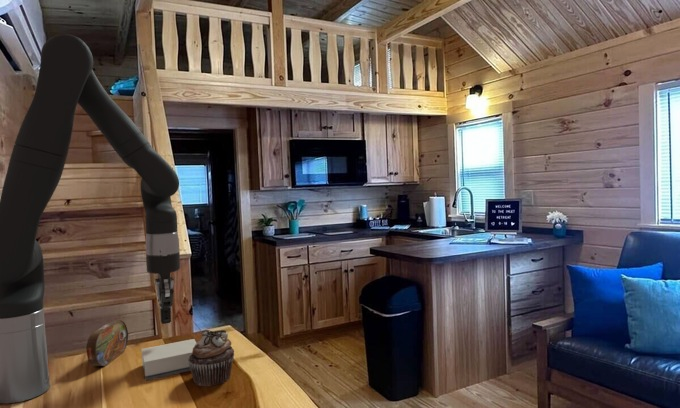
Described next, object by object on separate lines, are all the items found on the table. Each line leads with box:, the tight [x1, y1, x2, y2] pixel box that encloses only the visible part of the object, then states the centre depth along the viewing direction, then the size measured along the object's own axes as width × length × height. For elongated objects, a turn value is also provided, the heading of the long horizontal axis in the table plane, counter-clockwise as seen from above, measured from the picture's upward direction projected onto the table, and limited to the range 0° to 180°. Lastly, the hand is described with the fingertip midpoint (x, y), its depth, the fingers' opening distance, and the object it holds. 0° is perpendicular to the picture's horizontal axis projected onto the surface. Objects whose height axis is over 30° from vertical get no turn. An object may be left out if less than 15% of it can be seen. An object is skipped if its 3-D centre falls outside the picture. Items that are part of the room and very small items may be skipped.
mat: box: [142, 366, 191, 381], centre depth 105 cm, size 12×8×1 cm
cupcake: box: [188, 329, 235, 387], centre depth 98 cm, size 10×10×10 cm
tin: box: [85, 320, 129, 367], centre depth 111 cm, size 15×3×8 cm, turn 179°
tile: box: [141, 338, 197, 377], centre depth 105 cm, size 12×4×9 cm
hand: (166, 322), depth 109 cm, fingers closed
